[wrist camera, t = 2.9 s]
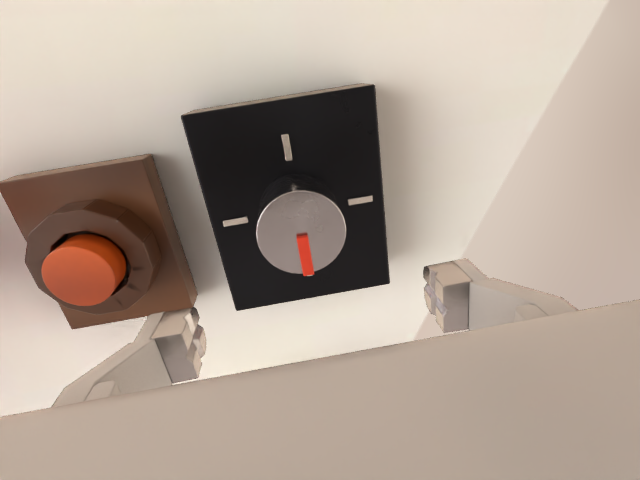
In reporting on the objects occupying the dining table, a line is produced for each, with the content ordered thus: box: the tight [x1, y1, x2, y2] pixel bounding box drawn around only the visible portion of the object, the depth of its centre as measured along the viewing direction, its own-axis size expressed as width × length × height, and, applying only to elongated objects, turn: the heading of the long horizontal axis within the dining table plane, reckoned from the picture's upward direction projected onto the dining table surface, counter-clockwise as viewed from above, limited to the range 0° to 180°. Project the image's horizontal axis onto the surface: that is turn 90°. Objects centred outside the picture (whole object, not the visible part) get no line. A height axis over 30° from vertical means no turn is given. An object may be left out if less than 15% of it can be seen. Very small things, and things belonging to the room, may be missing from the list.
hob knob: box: [256, 173, 346, 276], centre depth 20 cm, size 4×4×4 cm
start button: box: [42, 234, 126, 306], centre depth 21 cm, size 4×4×2 cm
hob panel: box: [181, 83, 390, 311], centre depth 23 cm, size 12×10×3 cm
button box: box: [0, 154, 198, 329], centre depth 23 cm, size 10×8×4 cm
